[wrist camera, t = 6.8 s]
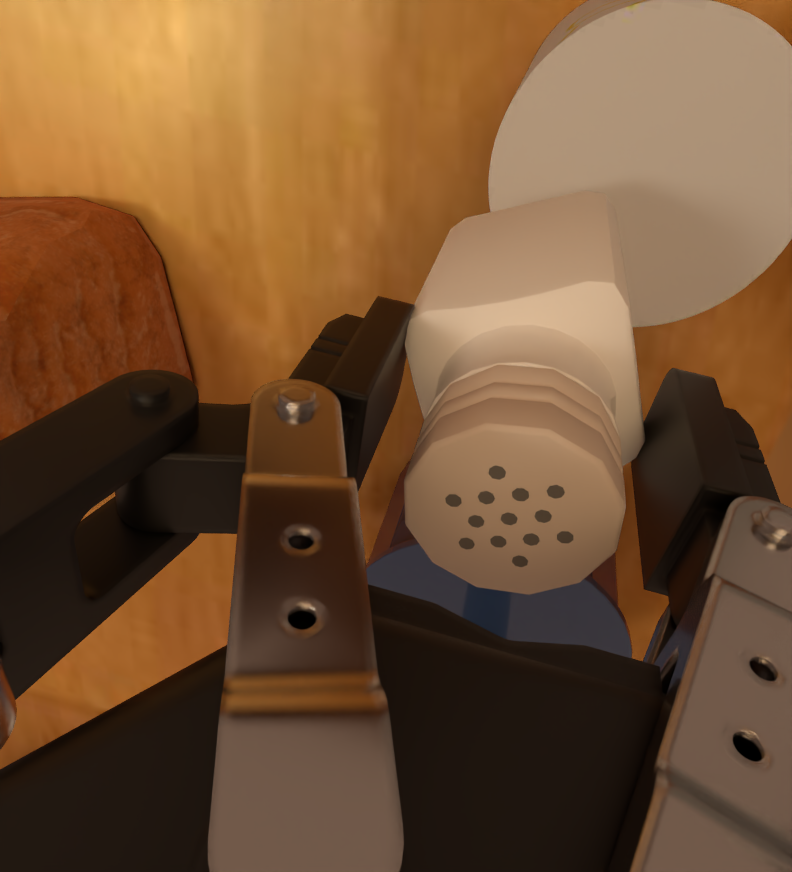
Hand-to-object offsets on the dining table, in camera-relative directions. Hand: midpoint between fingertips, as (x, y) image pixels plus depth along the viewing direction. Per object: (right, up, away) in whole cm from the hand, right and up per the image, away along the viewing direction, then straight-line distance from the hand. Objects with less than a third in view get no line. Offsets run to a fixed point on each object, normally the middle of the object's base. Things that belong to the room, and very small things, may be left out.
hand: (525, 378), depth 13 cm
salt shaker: (+1, +3, +4) cm, 6 cm away
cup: (+7, +12, +14) cm, 20 cm away
